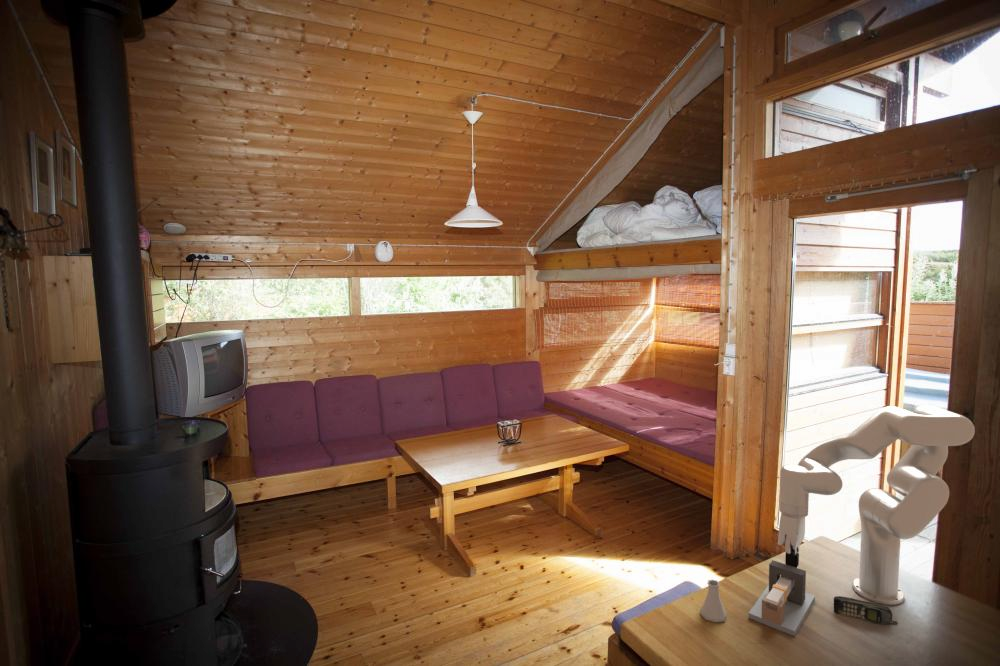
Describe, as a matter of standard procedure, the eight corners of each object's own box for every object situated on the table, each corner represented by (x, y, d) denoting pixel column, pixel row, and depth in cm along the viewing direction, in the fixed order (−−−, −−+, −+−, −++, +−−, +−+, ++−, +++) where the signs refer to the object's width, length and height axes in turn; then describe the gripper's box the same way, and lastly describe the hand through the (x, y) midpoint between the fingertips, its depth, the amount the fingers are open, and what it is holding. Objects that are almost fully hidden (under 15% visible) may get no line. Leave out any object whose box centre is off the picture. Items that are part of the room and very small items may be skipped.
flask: (729, 624, 150) (729, 591, 149) (702, 622, 152) (702, 589, 150) (724, 608, 157) (724, 576, 156) (698, 606, 159) (698, 574, 157)
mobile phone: (833, 599, 152) (899, 612, 144) (833, 593, 154) (897, 605, 147) (833, 615, 152) (898, 629, 145) (833, 609, 155) (897, 622, 148)
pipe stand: (771, 585, 167) (771, 560, 166) (814, 600, 158) (815, 574, 157) (748, 617, 152) (748, 590, 151) (794, 636, 144) (795, 608, 143)
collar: (771, 587, 162) (772, 560, 161) (805, 599, 156) (805, 570, 155) (768, 592, 160) (769, 564, 159) (802, 604, 154) (802, 575, 153)
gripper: (787, 495, 166) (786, 550, 169) (771, 512, 156) (770, 571, 158) (814, 502, 161) (812, 559, 164) (800, 520, 151) (798, 581, 153)
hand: (791, 565), depth 161 cm, fingers closed
